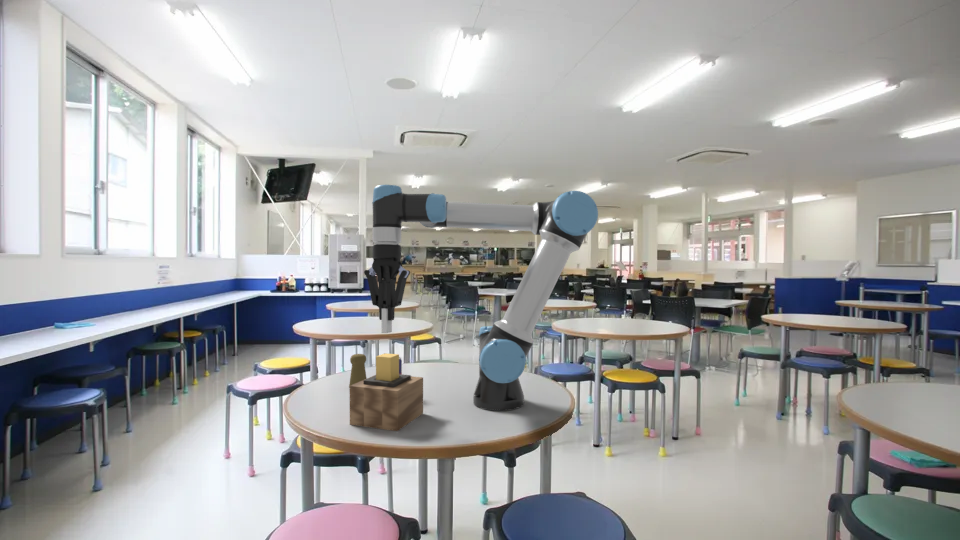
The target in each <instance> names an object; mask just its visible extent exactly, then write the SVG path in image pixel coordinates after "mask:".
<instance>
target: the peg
mask: <svg viewBox="0 0 960 540" xmlns="http://www.w3.org/2000/svg"><path fill="white" fill-rule="evenodd" d="M399 357H400V354H398V353H382V354H379V355H376V356H375V375H376V380H384V381H393V380H395V379H397V378H399Z"/></svg>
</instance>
